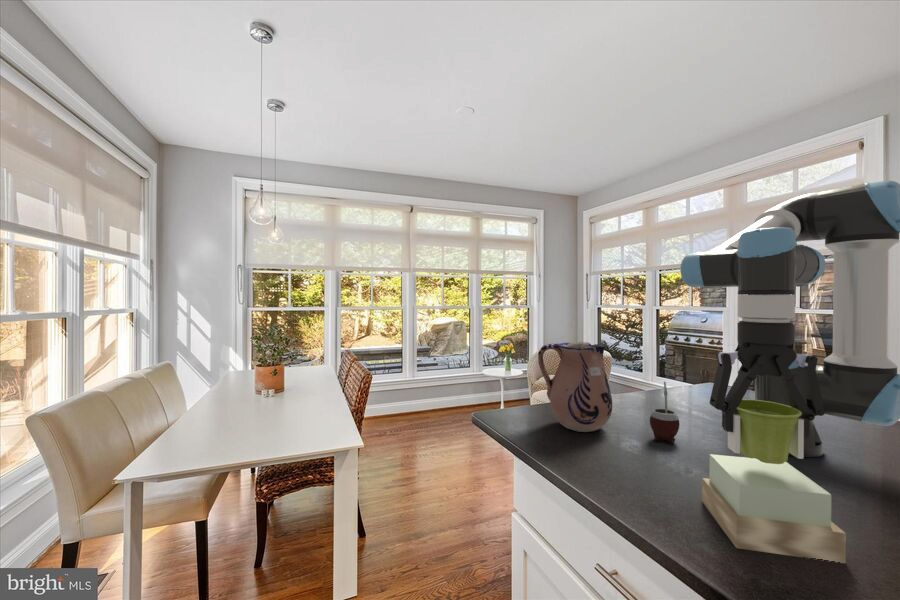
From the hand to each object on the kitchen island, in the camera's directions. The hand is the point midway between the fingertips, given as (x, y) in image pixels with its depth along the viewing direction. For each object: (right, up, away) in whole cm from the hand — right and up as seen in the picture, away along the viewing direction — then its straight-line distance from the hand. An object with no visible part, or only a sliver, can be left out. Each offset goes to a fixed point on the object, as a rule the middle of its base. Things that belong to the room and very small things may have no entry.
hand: (764, 452), depth 66 cm
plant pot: (0, -1, 0) cm, 1 cm away
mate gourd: (+5, -12, +39) cm, 41 cm away
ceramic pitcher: (-16, -12, +50) cm, 54 cm away
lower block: (0, -13, 0) cm, 13 cm away
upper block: (0, -8, 0) cm, 8 cm away
